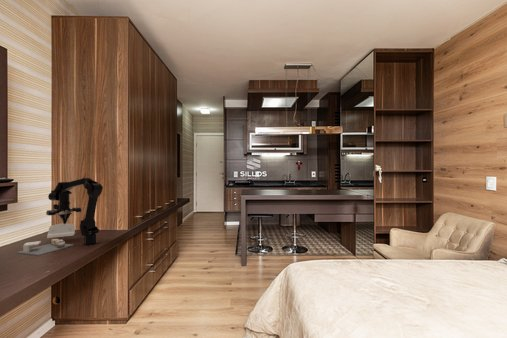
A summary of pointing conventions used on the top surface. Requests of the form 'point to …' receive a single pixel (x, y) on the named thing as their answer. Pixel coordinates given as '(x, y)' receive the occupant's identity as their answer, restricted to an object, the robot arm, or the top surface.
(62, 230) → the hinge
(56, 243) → the link
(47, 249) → the pintle base
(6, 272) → the top surface
